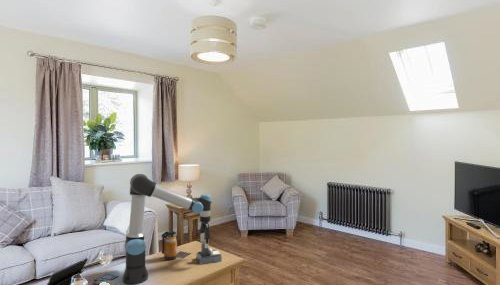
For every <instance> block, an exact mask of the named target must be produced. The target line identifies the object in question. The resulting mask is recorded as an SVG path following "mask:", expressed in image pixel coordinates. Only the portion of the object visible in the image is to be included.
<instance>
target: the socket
mask: <svg viewBox="0 0 500 285" xmlns="http://www.w3.org/2000/svg"><path fill="white" fill-rule="evenodd" d="M212 250H213V251H217V250H218V249H212ZM195 254H196V255H195V256H196V257H195V258H196V260H197V263H199V265H205V264H211V263H212V264H213V263H220V262H222V255H221V253H220V254H219V255H212V256H211V255H210V254H209V256H204V257H201V251H197V252H196V253H195Z"/></svg>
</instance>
